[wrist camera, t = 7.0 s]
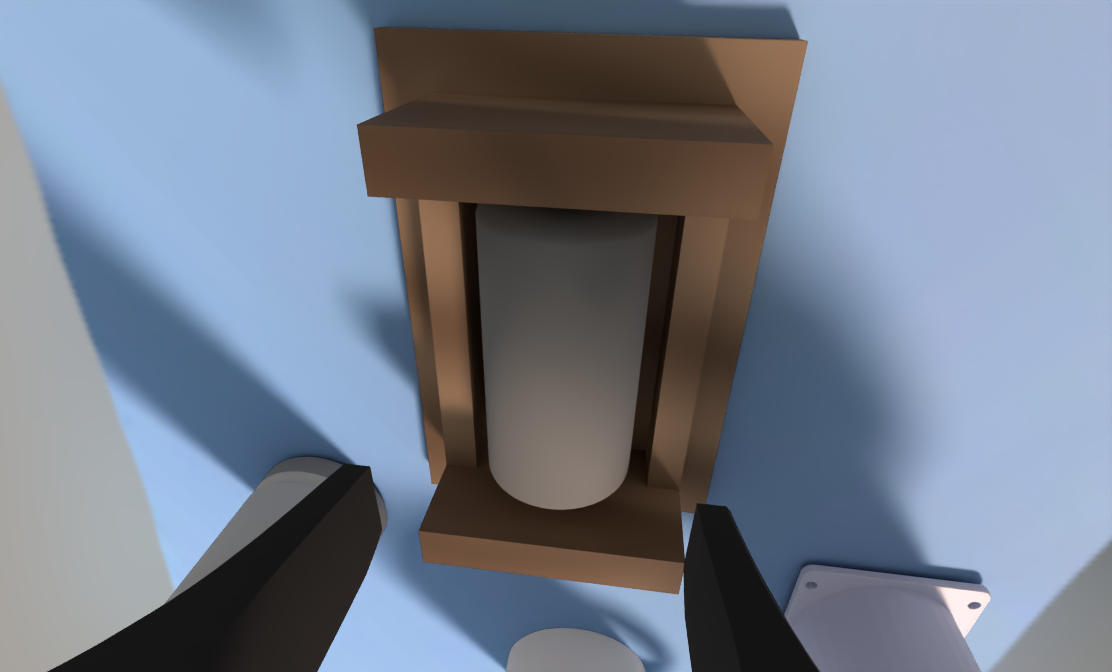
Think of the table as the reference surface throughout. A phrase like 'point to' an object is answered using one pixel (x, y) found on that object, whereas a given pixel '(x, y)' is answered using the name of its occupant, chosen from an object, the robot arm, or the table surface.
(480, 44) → the cradle
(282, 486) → the travel mug
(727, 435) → the table surface
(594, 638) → the mug
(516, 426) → the roll
